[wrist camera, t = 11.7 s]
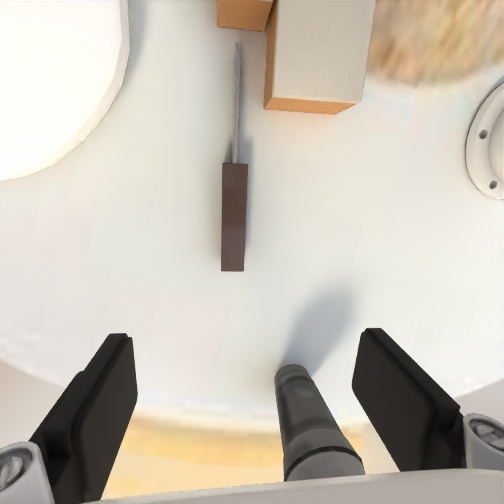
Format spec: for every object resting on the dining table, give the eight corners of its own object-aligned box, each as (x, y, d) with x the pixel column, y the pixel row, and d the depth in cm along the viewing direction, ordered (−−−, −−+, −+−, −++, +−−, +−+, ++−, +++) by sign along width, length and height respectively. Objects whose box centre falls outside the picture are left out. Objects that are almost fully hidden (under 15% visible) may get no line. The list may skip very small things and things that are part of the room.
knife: (249, 58, 23) (252, 42, 20) (241, 261, 29) (243, 271, 26) (223, 55, 23) (224, 39, 20) (221, 261, 29) (221, 271, 26)
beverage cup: (293, 345, 33) (392, 588, 14) (330, 376, 35) (460, 624, 16) (252, 382, 34) (290, 656, 15) (290, 410, 36) (366, 683, 17)
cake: (348, 13, 23) (380, -28, 18) (335, 114, 25) (361, 101, 21) (269, 3, 22) (281, -42, 18) (263, 109, 25) (273, 94, 20)
